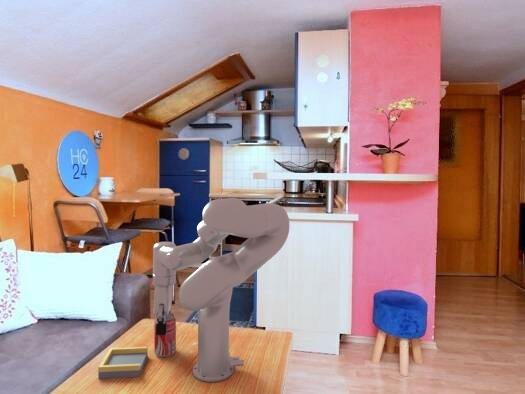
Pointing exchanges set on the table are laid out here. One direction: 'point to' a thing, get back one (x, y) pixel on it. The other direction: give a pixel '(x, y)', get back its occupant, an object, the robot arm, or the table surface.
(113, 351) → the tray
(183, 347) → the table surface
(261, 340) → the table surface
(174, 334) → the soda can
